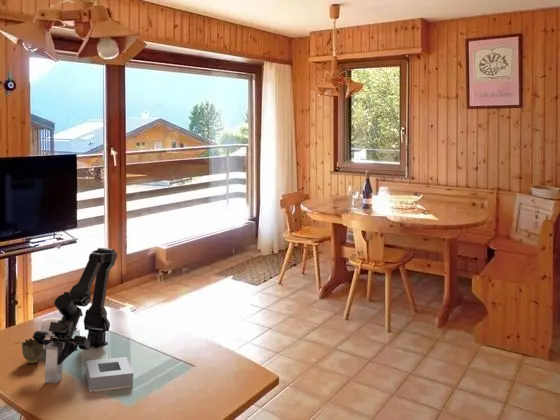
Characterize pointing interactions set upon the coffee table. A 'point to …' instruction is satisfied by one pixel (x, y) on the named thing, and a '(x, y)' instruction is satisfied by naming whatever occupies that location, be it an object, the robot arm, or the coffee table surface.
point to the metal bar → (53, 362)
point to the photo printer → (46, 325)
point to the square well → (108, 374)
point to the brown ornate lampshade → (31, 351)
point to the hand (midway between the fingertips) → (52, 363)
